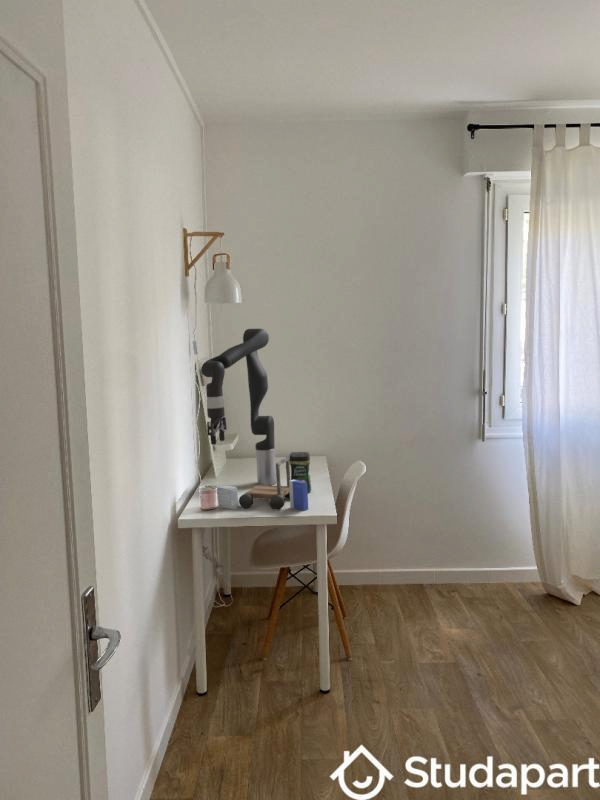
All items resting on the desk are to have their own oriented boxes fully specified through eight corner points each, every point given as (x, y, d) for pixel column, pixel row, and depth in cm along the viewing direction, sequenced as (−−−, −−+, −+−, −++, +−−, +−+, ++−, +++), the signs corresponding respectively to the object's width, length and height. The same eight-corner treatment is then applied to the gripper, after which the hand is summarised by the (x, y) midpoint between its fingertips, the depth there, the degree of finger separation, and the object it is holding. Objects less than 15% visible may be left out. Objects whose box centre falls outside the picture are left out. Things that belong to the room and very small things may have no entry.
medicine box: (238, 506, 279) (237, 487, 278) (231, 509, 276) (230, 489, 275) (225, 504, 284) (223, 485, 283) (218, 507, 280) (216, 487, 279)
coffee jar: (289, 494, 295) (287, 454, 293) (292, 489, 303) (289, 450, 301) (310, 494, 294) (308, 453, 291) (312, 489, 301) (310, 450, 299)
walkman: (308, 509, 270) (307, 480, 269) (303, 510, 268) (302, 482, 267) (294, 506, 275) (293, 478, 274) (290, 507, 273) (288, 479, 272)
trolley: (255, 496, 294) (253, 455, 291) (297, 498, 287) (295, 455, 285) (239, 508, 277) (236, 463, 275) (283, 510, 270) (280, 464, 268)
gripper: (216, 408, 280) (218, 445, 282) (230, 404, 293) (232, 439, 295) (200, 408, 282) (203, 445, 284) (214, 404, 296) (217, 439, 298)
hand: (218, 442), depth 290 cm, fingers open, 8 cm apart
